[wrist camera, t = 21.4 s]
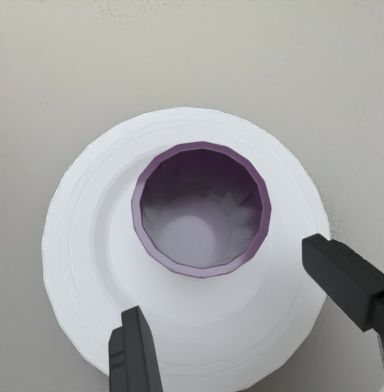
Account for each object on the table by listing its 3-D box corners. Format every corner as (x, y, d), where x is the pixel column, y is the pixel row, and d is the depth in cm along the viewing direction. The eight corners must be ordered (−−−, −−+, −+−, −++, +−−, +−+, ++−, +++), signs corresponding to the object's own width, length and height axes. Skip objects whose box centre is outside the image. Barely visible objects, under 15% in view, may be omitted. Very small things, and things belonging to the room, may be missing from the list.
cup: (202, 294, 18) (221, 309, 10) (132, 242, 19) (101, 219, 11) (249, 223, 20) (295, 190, 12) (182, 177, 20) (186, 118, 13)
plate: (368, 321, 20) (388, 325, 18) (90, 446, 17) (80, 466, 15) (257, 92, 25) (263, 78, 23) (27, 157, 22) (14, 147, 20)
